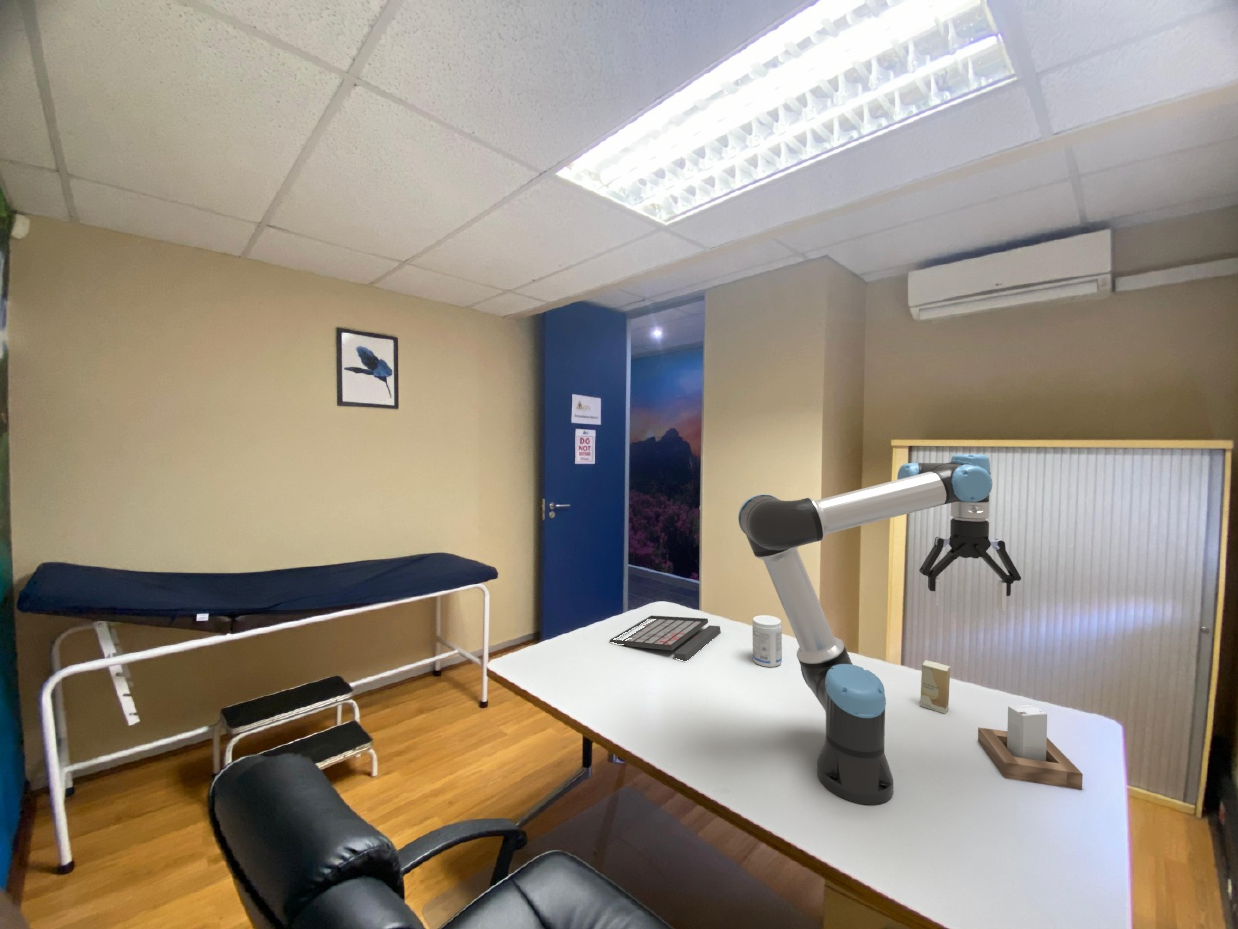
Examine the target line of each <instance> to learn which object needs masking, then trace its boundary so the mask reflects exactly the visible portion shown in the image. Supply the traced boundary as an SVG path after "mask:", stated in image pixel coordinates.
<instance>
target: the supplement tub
mask: <svg viewBox="0 0 1238 929" xmlns="http://www.w3.org/2000/svg"><path fill="white" fill-rule="evenodd" d="M782 628H783V627H782V620H781V619H780V618H779V617H776V616H773V615H768V614H765V615H764V614H762V615H756V616H754V617H753V618H752V659H753V661H754V663H755V664H757V665H759V666H762V667H766V668H775V667H778V666H780V665H781V664H782V662H783V661H782V660H783V653H782V652H783V646H782V645H783V644H782V643H783V642H782V639H783V637H782V636H783V635H782V633H783V632H782Z"/></svg>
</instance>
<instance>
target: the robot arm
mask: <svg viewBox="0 0 1238 929" xmlns="http://www.w3.org/2000/svg"><path fill="white" fill-rule="evenodd" d="M991 474H992V472H991V463H990V458H989V456H987V455H986V454H973V453H972V454H953V455H952V456H951V459H950V461H949V462H916V461H915V462H911V463H910V462H909V463H903V464H902V465H900V467H899V469H898V471H897V477H896V478H897V479H895V480H891V481H886V482H884V483H879V484H876V485H871V486H867V487H865V488H864V487H863V488H860V489H856V490H853V491H852V490H851V491H848V492H847V491H846V492H844V493H840V494H836V495H833V496H828V497H824V498H820V499H817V500H814V499H813V498H811V497H805V498H801V499H796V500H781V499H779V498H777V497H776V496H774V495H771V494H756V495H753V496H751V497H749V498H748V499H746V500H744V502H743V503H742V505H741V506H740V509H739V511H738V514H737V515H738V517H737V518H738V525H739V527H740V530H741V531H742V532H743V533H744V534H745V536H746V539H747V540H748V543H749V545H750V548H751V551H752V553H753V555H754V557H755V558H757V559H759V560H762V561H763V563H764V565H765V568H766V571H767V572H768V574H769V577H770V580H771V582H772V584H773V587H774V589H775V591H776V593H777V596H778V599H779V601H780V603H781V606H782V608H783V610H784V613H785V615H786V618H787V620H788V622H789V625H790V627H791V629H792V632H793V634H794V638H795V639H796V642H797V644H798V646H799V647H798V649H797V650H796V658H797V660H798V662H799V664H800V671H801V676H802V678H803V680H804V682H805V683H806V685H807V687H808V688H809V689H810V690H811V692H812V694H813V695H814V696H815V697H816V699H817V700H818V702H819V703H820V706H822V709H823V710H824V712H825V740H824V742H823V744H822V748H821V750H820V752H819V755H818V758H817V762H816V775H817V777H818V779H819V781H820V783H821V784H822V785H823V786H824V787H826V789H827V790H828V791H830V792H831V793H833V794H834V795H837V796H838V797H841V798H842V799H845V800H847V801H849V802H853V803H857V804H861V805H880V804H884V803H887V802H888V801H889V800H890V799H891V798H892V797H893V795H894V778H893V774H892V771H891V769H890V765H889V761H888V760H887V756H886V754H885V734H886V732H885V730H886V705H887V699H886V692H885V687H884V684H883V682H882V681H881V679H880V678H879V677H878V676H877V674H875V673H873V672H872V671H871V670H868V669H864V667H862V666H858V665H855V664H853V662H852V660H851V658H850V655H849V653H848V650H847V648H846V645H845V643H844V641H843V640H842V639H841V638H838V637H836V636H834V634H833V632H832V629H831V627H830V625H829V622H828V619H827V617H826V614H825V612H824V610H823V608H822V605H821V603H820V600H819V598H818V595H817V593H816V591H815V588H814V586H813V583H812V581H811V579H810V576H809V574H808V572H807V570H806V566H805V564H804V562H803V560H802V558H801V555H800V552H799V550H798V547H801V546H806V545H808V544H813V543H816V542H820V541H823V540H824V539H825V537H826V536H827V535H828V534H832V533H836V532H837V533H838V532H839V531H845V530H848V529H852V528H857V527H860V526H864V525H865V526H866V525H869V524H873V523H877V522H880V521H884V520H887V519H892V518H896V517H899V516H901V517H902V516H904V515H908V514H912V513H916V512H920V511H924V510H928V509H931V508H936V507H940V506H944V505H948V504H950V516H951V517H953V518H951V519H950V527H949V528H950V529H949V530H950V531H949V532H950V533H949V534H950V535H949V538H943V537H942V538H941V537H940V536H936V537H935V538H934V544H933V547H932V548H931V550H930V551H929V553H928V555H927V556H926V557H925V560H924V561H923V563H922V565H921V566H920V568H919V573H920V574H921V575H923V576H926V577H927V589H928V590H929V591H930V592H931V593H932V594H931V595H932V596H931V597H932V598H931V603H932V604H933V605H935V606H936V607H940V594H941V592H940V590H941V588H940V583H941V582H940V581H941V580H940V578H938V576H939V575H940V574H941V573H943V571H944V570H946V569H947V568H948V566H950V565H951V564H952V563H953V562H954V561H955V560H957V559H958V558H962V559H968V558H971V559H979V558H981V559H982V560H983V561H984V562H985V563H986V564H987V565H988V566H989V567H990V569H991V570H992V571H993V572H995V574H996V575H997V576H998V577H999V578H1000V579H1001V580H999V579H997V582H996V583H997V584H996V586H997V590H996V608H997V609H999V610H1000V611H1003V612H1007V597H1010V596H1011V594H1012V584H1014V582H1020V581H1021V580H1022V577H1021V575H1020V574H1019V573H1020V572H1019V571H1018V569H1017V568H1016V566H1015V564H1014V562H1013V560H1012V559H1011V557H1010V555H1009V553H1008V552H1007V549H1006V542H1005V541H1004V540H1002V539H998V538H996V539H995V540H990V539H989V538H990V522H989V521H988V520H987V519H989V518H990V493H991V492H992V489H993V479H992V476H991ZM947 545H948V546H949V547H950V549H949V550H948V551H947V553H946V554H945V555H944V556H943V557H942V558H941V559H940V560H938V558H939V556H940V555H941V554H942V551H943V549H944V548H945V547H946V546H947ZM990 547H991V548H992V549H993V550H995V551H996V553H997V555H998V557H999V559H1000V560H1001V561H1000V562H1002V564H1003V566H1004V567H1005V569H1006V571H1007V573H1008V574H1007V573H1006V572H1005V571H1004V570H1003V568H1002V567H1001V566H1000V565H999V564H998V563H997V562H996V561H995V560H994V559H993V558H992V556H991V555H990V554H989V553H988V552H987V551H988V549H990ZM937 560H938V562H937V563H936V564H935V562H936V561H937Z"/></svg>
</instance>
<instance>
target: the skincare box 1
mask: <svg viewBox="0 0 1238 929" xmlns="http://www.w3.org/2000/svg"><path fill="white" fill-rule="evenodd" d="M950 678H951V666H950V665H946V664H942V663H939V662H935V661H931V660H928V659H925V660H924V661H923V662H922V664H921V680H920V682H921V683H920V684H921V685H920V704H919V705H920V707H923V708H925V709H929V710H932V711H934V712H937V713H941V714H946V713H947V712H948V710H949V705H950V704H949V703H950V702H949V700H950V680H951V679H950Z"/></svg>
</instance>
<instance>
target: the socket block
mask: <svg viewBox="0 0 1238 929" xmlns="http://www.w3.org/2000/svg"><path fill="white" fill-rule="evenodd" d="M1007 731H1008V730H999V729H993V728H985V727H977V741H978V744H979V745H980V746H981V748H982V749H983V750H984V752H985V753H986V755H987V756H988V757H989V759H990V760H991V761H992V762H993V764H994V766H995V767H996V768H997V769H998V771H999V772H1000V774H1001V775H1002V776H1003V777H1004V779H1010V780H1017V781H1023V782H1030V783H1036V784H1043V785H1049V786H1054V787H1055V786H1056V787H1062V788H1067V789H1068V788H1069V789H1075V790H1081V791H1082V790H1083V776H1084V774H1083V772H1082V771H1081V770H1080V769H1079V768H1078V767H1077V766H1076V765H1075V764H1074V763H1073V762H1072V761H1071V760H1070V759H1069V758H1068V757H1067V756H1066V755H1065V754H1064V753H1063V752H1062V751H1061V750H1060V749H1059V748H1058V747H1057V746H1056V745H1055V744H1054V743H1053V742H1052V741H1051V740H1050V739H1049V737H1047V745H1046V761H1039V760H1032V759H1025V758H1018V757H1013V756H1012V754H1011V753H1010V752H1009V751H1008V749H1007Z"/></svg>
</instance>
